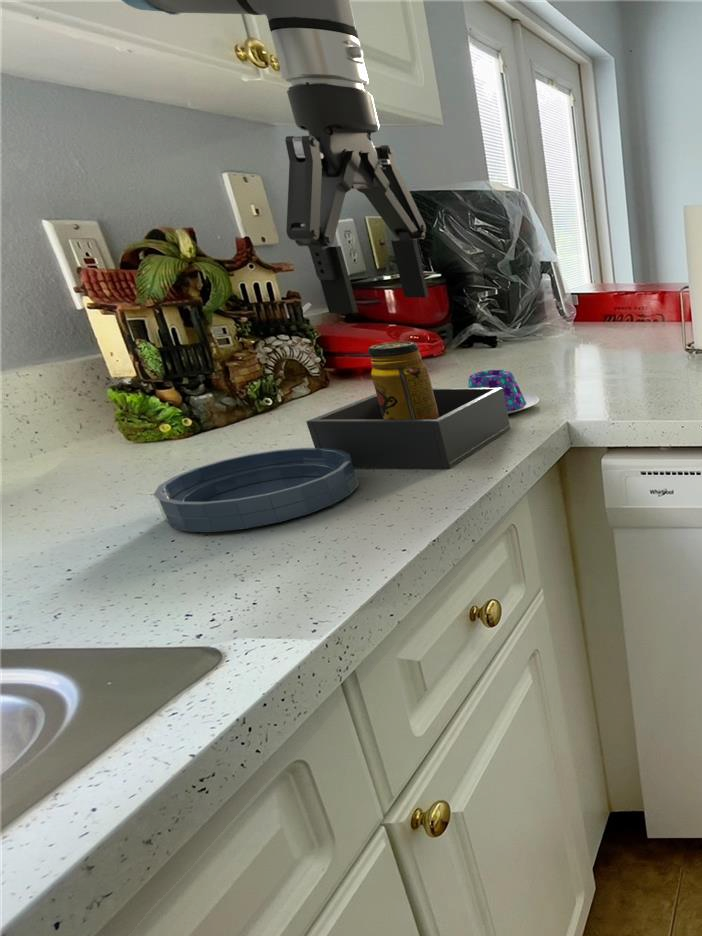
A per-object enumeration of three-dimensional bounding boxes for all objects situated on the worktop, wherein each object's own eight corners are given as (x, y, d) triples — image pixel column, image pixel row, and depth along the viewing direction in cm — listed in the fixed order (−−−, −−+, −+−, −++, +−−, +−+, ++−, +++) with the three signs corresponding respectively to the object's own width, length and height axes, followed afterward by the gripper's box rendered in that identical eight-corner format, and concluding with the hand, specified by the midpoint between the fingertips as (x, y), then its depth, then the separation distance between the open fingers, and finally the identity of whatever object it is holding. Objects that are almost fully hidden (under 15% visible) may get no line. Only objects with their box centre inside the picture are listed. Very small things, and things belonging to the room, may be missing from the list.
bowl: (122, 534, 66) (107, 503, 65) (256, 474, 81) (246, 447, 79) (285, 537, 65) (273, 504, 63) (391, 475, 79) (383, 447, 78)
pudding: (546, 412, 102) (539, 376, 100) (455, 424, 97) (447, 387, 95) (533, 395, 112) (527, 361, 110) (450, 405, 107) (442, 370, 105)
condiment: (374, 447, 87) (345, 348, 82) (432, 428, 94) (409, 335, 89) (416, 454, 84) (389, 351, 79) (473, 434, 91) (451, 338, 86)
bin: (321, 468, 82) (305, 421, 80) (400, 429, 96) (389, 388, 94) (449, 468, 81) (438, 421, 78) (510, 429, 95) (502, 387, 93)
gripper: (271, 64, 61) (341, 320, 70) (431, 102, 83) (469, 291, 92) (189, 66, 61) (269, 320, 70) (370, 103, 84) (413, 292, 93)
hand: (383, 304), depth 81 cm, fingers open, 13 cm apart
